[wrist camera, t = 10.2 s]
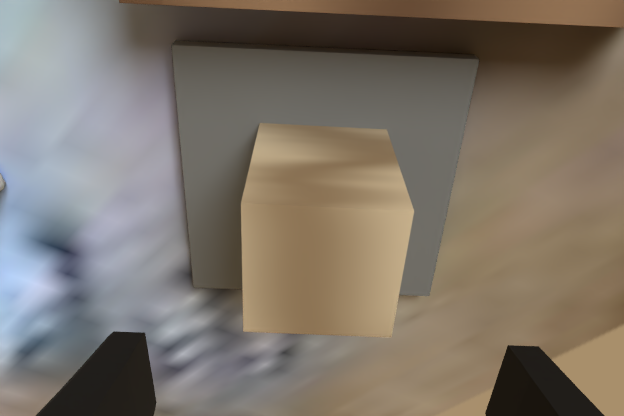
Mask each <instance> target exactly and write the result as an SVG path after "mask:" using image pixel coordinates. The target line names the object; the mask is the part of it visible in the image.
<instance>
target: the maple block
mask: <svg viewBox="0 0 624 416" xmlns="http://www.w3.org/2000/svg"><path fill="white" fill-rule="evenodd" d="M413 215H414V209H413V206H412V203H411V200H410V197H409V194H408V191H407V188H406V185H405V182H404V179H403V176H402V173H401V170H400V167H399V164H398V161H397V158H396V155H395V152H394V149H393V146H392V143H391V140H390V138H389V135H388V132H387V129H368V128H349V127H329V126H310V125H290V124H270V123H260V124H259V128H258V133H257V137H256V141H255V145H254V150H253V154H252V158H251V162H250V167H249V171H248V175H247V179H246V184H245V188H244V192H243V196H242V201H241V235H242V288H243V332H267V333H292V334H318V335H343V336H369V337H391V336H392V330H393V325H394V319H395V314H396V308H397V303H398V297H399V292H400V286H401V281H402V276H403V270H404V265H405V259H406V254H407V248H408V243H409V237H410V232H411V226H412V221H413Z"/></svg>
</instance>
